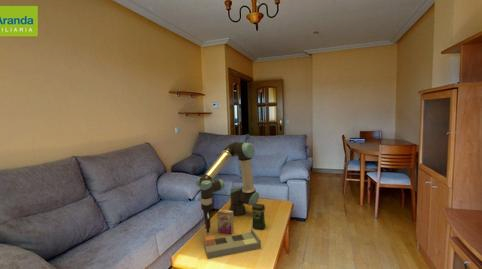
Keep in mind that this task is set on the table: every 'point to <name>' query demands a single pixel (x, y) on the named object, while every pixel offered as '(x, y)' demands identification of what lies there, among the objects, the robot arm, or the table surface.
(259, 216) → the coffee jar
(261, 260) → the table surface
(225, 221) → the candy bar box
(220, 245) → the block
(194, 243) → the table surface
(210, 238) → the block
